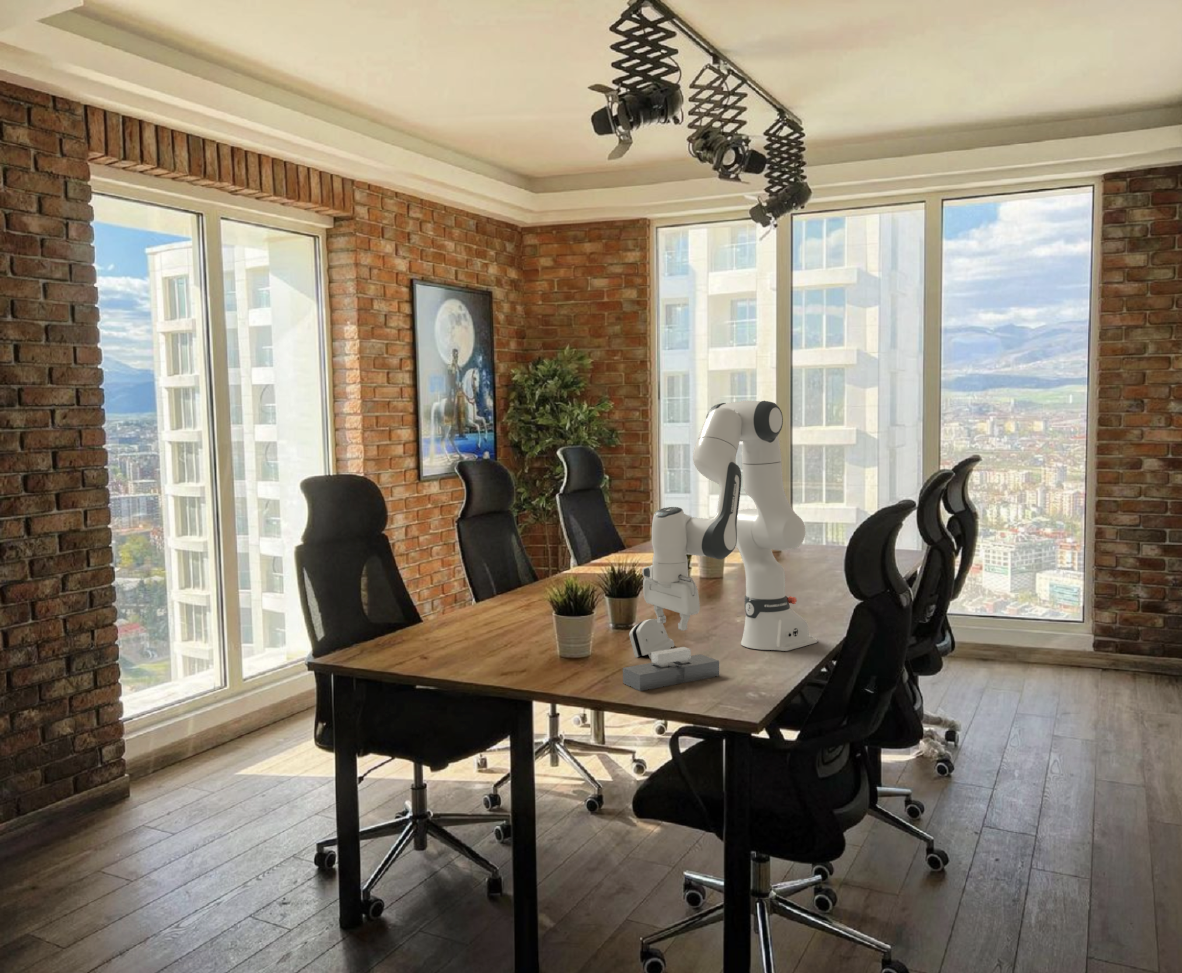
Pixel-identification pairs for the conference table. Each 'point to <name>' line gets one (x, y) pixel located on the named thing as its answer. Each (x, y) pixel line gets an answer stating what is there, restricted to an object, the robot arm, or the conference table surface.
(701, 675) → the rail
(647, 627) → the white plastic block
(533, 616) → the conference table surface
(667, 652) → the clip
